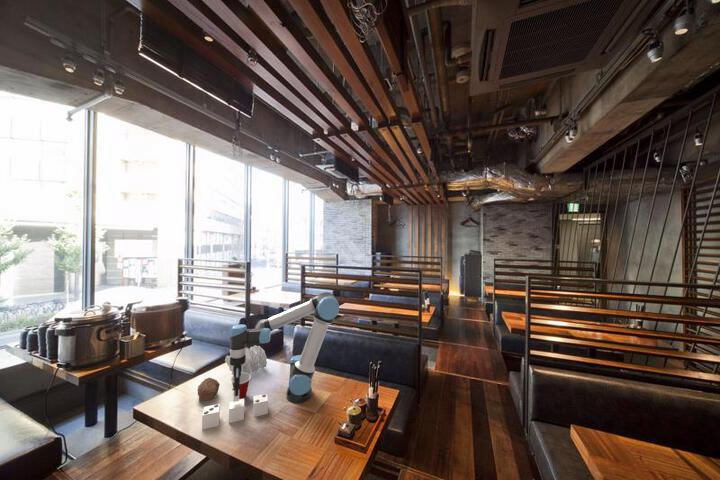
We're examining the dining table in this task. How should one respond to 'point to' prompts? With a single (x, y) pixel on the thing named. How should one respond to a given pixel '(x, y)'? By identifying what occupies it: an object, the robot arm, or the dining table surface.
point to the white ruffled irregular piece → (251, 360)
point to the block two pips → (260, 405)
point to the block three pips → (210, 416)
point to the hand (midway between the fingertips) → (236, 400)
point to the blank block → (236, 410)
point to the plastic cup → (243, 384)
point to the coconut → (208, 389)
